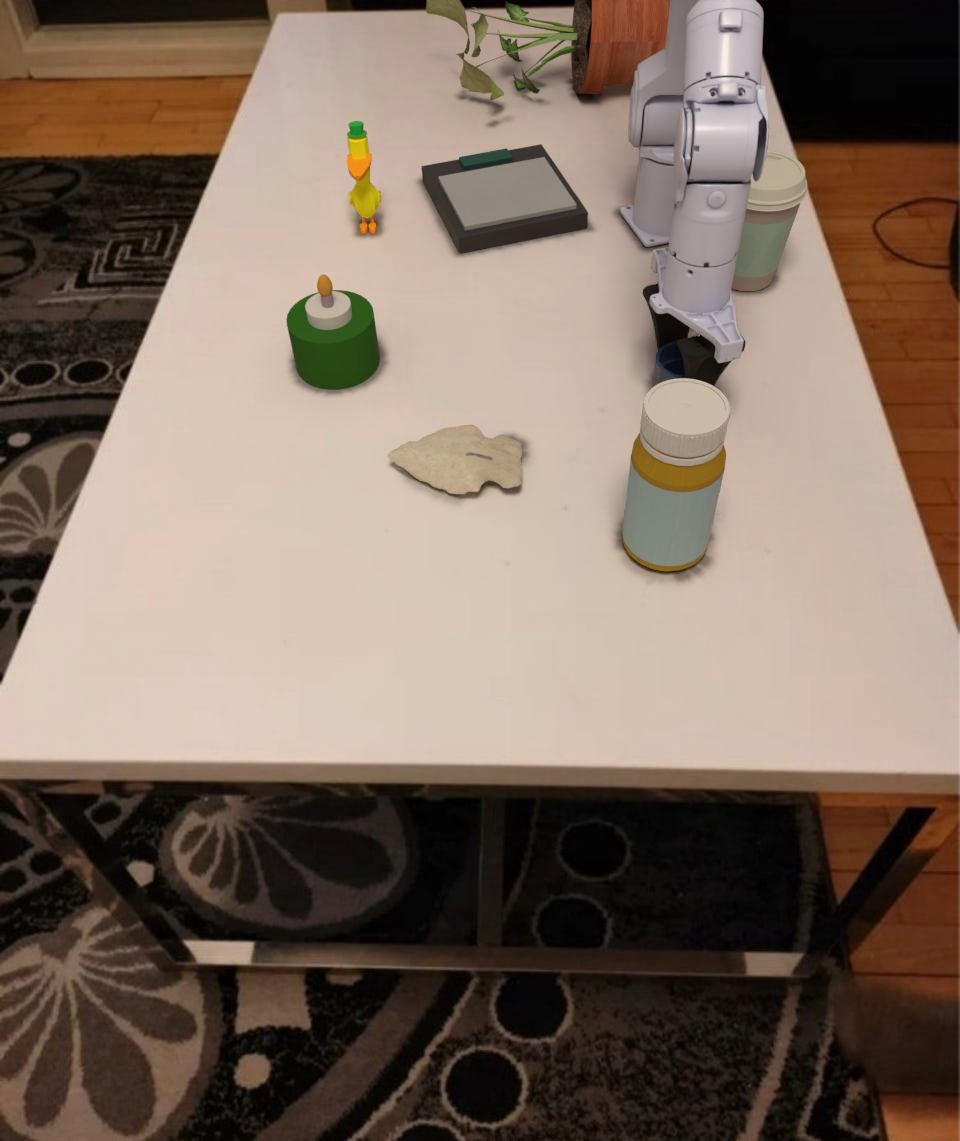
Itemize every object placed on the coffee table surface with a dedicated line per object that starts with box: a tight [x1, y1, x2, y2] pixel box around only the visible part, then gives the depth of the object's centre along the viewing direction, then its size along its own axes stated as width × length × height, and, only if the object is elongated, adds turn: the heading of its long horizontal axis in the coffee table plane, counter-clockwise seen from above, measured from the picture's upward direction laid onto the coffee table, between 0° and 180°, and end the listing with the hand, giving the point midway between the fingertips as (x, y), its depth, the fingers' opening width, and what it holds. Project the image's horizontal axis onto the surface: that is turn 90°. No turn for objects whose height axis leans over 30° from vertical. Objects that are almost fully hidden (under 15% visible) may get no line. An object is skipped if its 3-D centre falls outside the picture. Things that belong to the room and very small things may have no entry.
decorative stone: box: [387, 424, 523, 495], centre depth 89 cm, size 8×12×3 cm
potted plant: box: [425, 0, 671, 101], centre depth 129 cm, size 16×15×35 cm
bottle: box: [621, 378, 731, 572], centre depth 78 cm, size 7×7×15 cm
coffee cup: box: [731, 149, 808, 292], centre depth 102 cm, size 9×8×12 cm
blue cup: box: [651, 340, 685, 389], centre depth 94 cm, size 6×6×4 cm
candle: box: [285, 273, 381, 390], centre depth 96 cm, size 8×8×10 cm
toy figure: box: [346, 120, 382, 235], centre depth 110 cm, size 7×4×12 cm, turn 1°
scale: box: [421, 143, 589, 254], centre depth 116 cm, size 15×16×3 cm
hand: (682, 376), depth 94 cm, fingers closed on blue cup, 5 cm apart
